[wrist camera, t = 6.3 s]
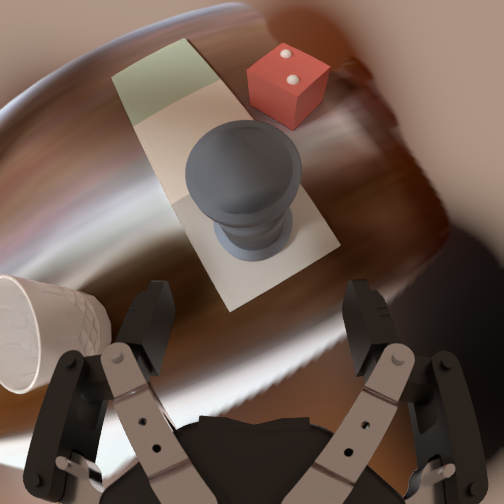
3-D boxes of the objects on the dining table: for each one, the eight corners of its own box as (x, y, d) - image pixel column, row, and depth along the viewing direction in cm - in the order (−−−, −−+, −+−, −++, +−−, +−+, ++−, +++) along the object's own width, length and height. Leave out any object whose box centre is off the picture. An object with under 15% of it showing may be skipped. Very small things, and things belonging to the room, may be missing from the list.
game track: (230, 311, 22) (229, 312, 22) (112, 79, 27) (111, 77, 27) (339, 246, 22) (340, 245, 22) (184, 40, 28) (184, 38, 27)
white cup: (134, 326, 22) (58, 338, 12) (92, 386, 22) (20, 415, 12) (79, 268, 23) (1, 249, 14) (43, 328, 23) (-31, 331, 13)
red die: (292, 131, 24) (297, 92, 19) (250, 104, 25) (246, 65, 20) (322, 100, 25) (331, 62, 19) (281, 77, 26) (282, 38, 20)
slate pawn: (239, 276, 22) (216, 256, 12) (202, 211, 23) (160, 153, 13) (306, 236, 22) (333, 188, 13) (266, 175, 23) (264, 98, 14)
